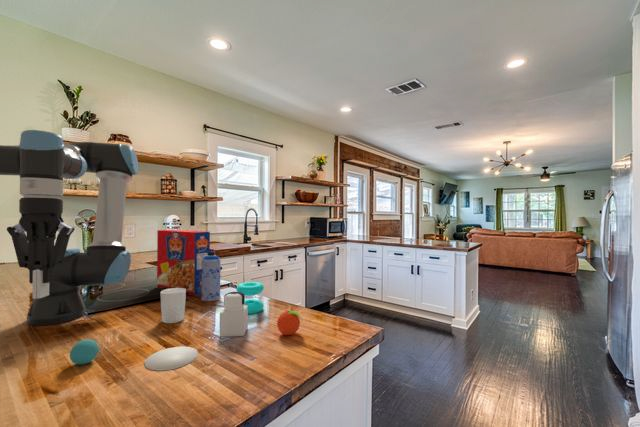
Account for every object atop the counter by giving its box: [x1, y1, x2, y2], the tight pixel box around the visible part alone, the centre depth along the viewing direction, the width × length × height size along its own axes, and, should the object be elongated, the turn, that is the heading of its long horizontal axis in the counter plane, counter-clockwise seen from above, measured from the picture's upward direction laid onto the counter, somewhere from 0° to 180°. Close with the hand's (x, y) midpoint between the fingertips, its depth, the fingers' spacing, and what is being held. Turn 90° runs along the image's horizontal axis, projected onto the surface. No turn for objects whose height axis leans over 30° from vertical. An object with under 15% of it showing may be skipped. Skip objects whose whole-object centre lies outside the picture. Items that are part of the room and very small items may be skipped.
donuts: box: [236, 281, 265, 315], centre depth 111 cm, size 10×10×10 cm
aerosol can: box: [200, 250, 222, 302], centre depth 126 cm, size 8×8×20 cm
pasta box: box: [156, 229, 211, 297], centre depth 141 cm, size 28×8×28 cm, turn 60°
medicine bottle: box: [219, 291, 249, 338], centre depth 91 cm, size 7×7×12 cm
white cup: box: [160, 288, 187, 324], centre depth 101 cm, size 8×8×10 cm
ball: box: [69, 338, 100, 365], centre depth 71 cm, size 6×6×6 cm
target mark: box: [144, 346, 199, 372], centre depth 74 cm, size 12×12×1 cm
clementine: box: [276, 310, 303, 336], centre depth 89 cm, size 8×7×7 cm
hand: (41, 296), depth 70 cm, fingers closed
